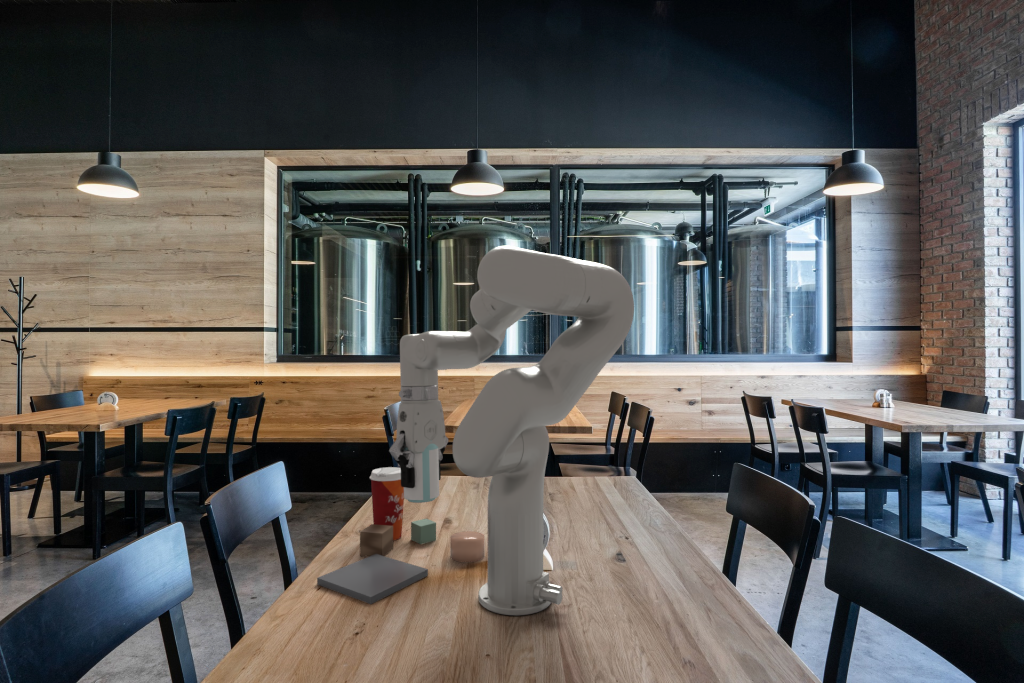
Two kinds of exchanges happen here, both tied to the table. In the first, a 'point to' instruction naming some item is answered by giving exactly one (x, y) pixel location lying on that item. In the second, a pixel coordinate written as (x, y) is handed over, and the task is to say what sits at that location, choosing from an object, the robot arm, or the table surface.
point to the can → (424, 476)
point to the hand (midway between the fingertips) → (421, 482)
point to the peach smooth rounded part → (467, 546)
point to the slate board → (372, 578)
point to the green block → (423, 531)
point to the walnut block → (376, 540)
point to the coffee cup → (388, 498)
